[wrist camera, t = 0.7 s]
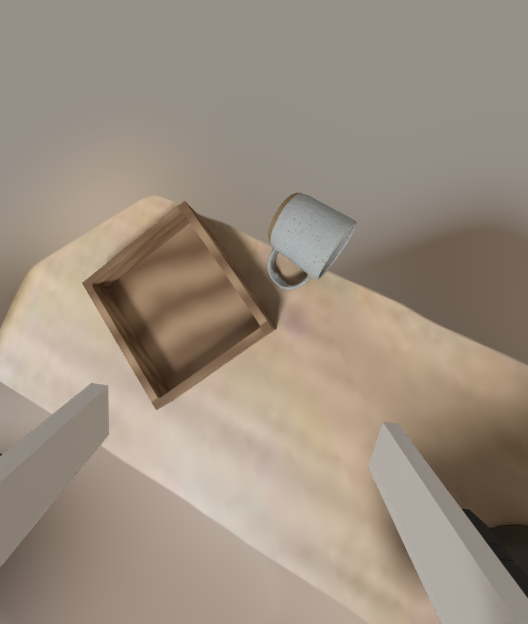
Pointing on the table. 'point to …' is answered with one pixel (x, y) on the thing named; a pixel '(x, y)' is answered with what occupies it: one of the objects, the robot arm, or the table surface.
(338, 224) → the ceramic mug
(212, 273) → the crate
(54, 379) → the table surface
